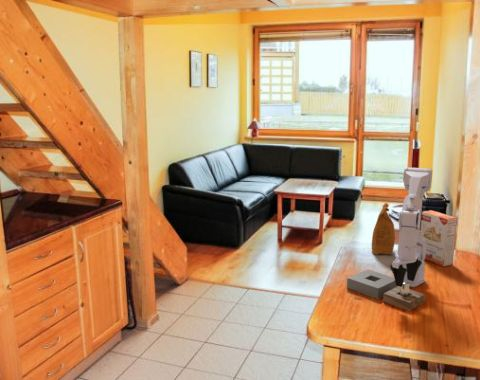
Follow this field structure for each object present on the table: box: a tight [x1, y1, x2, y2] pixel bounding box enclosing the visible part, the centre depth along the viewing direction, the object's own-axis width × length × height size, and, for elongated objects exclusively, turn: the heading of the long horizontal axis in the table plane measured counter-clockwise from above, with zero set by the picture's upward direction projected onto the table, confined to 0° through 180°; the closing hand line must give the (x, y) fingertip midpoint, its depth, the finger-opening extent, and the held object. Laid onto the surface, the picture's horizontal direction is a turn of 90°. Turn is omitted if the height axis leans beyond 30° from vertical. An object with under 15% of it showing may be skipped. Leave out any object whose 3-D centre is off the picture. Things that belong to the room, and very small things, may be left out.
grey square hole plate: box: [346, 269, 398, 300], centre depth 182 cm, size 13×13×4 cm
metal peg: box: [400, 281, 410, 297], centre depth 170 cm, size 3×3×7 cm
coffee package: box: [371, 202, 396, 256], centre depth 222 cm, size 10×12×22 cm
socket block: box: [382, 286, 426, 312], centre depth 171 cm, size 10×10×3 cm
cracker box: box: [419, 209, 458, 268], centre depth 210 cm, size 14×6×21 cm, turn 25°
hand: (404, 283), depth 169 cm, fingers open, 7 cm apart
